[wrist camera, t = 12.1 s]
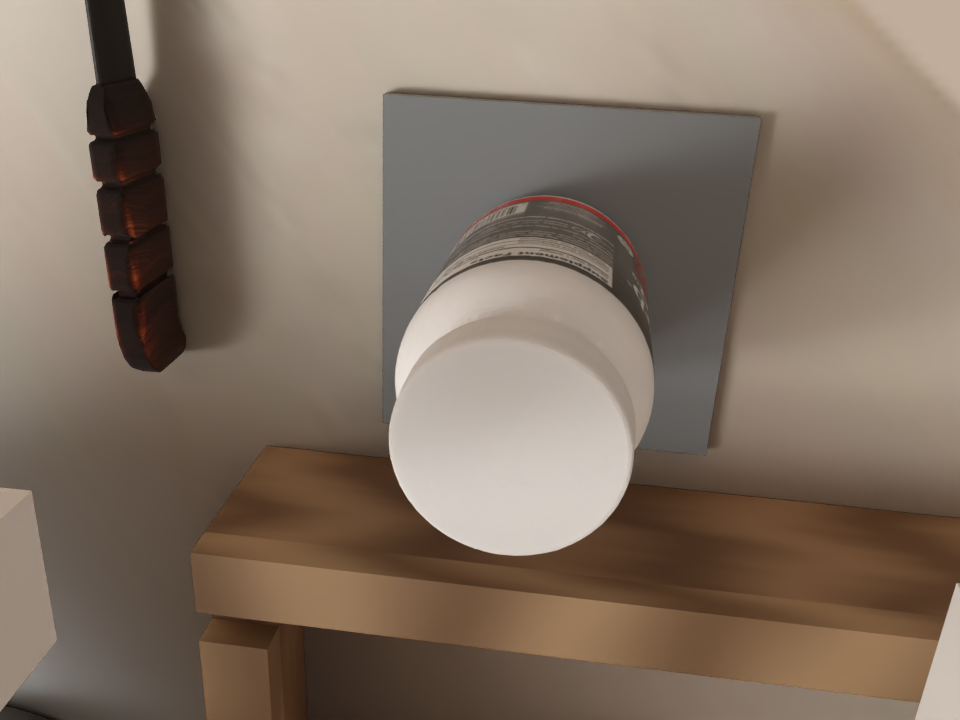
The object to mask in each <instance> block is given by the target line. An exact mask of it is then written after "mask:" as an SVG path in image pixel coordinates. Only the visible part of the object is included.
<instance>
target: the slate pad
mask: <svg viewBox="0 0 960 720" xmlns="http://www.w3.org/2000/svg"><path fill="white" fill-rule="evenodd" d="M760 125H761V118H760V117H759V116H747V115H731V114H716V113H700V112H684V111H668V110H653V109H637V108H621V107H606V106H590V105H574V104H558V103H543V102H527V101H511V100H496V99H480V98H464V97H449V96H433V95H417V94H401V93H385V94H383V423H388V424H390V420H391V415H392V412H393V408H394V405H395V402H396V400H397V399H396V389H395V369H396V362H397V356H398V352H399V348H400V345H401V342H402V339H403V337H404V334H405V332H406V329H407V327H408V325H409V322H410V320H411V319H412V317H413V315H414V313H415V312H416V310H417V308H418V307H419V305H420V304H421V302H422V300H423V299H424V297H425V296H426V294H427V292H428V291H429V289H430V287H431V285H432V284H433V282H434V280H435V279H436V277H437V276H438V274H439V272H440V271H441V269H442V267H443V265H444V264H445V262H446V260H447V259H448V257H449V255H450V254H451V252H452V250H453V249H454V247H455V245H456V243H457V242H458V241H459V239H460V238H461V236H462V235H463V234H464V232H465V231H466V230H467V229H468V228H469V227H470V226H471V225H472V224H473V223H474V222H475V221H477V220H478V219H479V218H480V217H481V216H483V215H484V214H485V213H487V212H488V211H490V210H492V209H493V208H495V207H497V206H499V205H501V204H504V203H506V202H509V201H512V200H515V199H519V198H523V197H529V196H540V195H549V196H559V197H565V198H570V199H573V200H576V201H579V202H582V203H584V204H587V205H589V206H591V207H593V208H595V209H596V210H598V211H600V212H601V213H603V214H604V215H605V216H607V217H608V218H609V219H610V220H612V221H613V222H614V223H615V224H616V225H617V226H618V227H619V228H620V229H621V230H622V231H623V233H624V234H625V235H626V236H627V238H628V239H629V240H630V242H631V244H632V245H633V247H634V249H635V251H636V253H637V255H638V257H639V260H640V262H641V265H642V268H643V272H644V276H645V280H646V287H647V296H648V306H649V319H650V330H651V341H652V351H653V361H654V373H655V389H654V398H653V406H652V411H651V415H650V419H649V422H648V425H647V427H646V430H645V432H644V435H643V437H642V439H641V441H640V443H639V444H638V446H637V448H636V449H646V450H656V451H666V452H676V453H686V454H696V455H706V451H707V445H708V439H709V433H710V427H711V421H712V415H713V409H714V402H715V396H716V390H717V384H718V378H719V372H720V366H721V360H722V354H723V348H724V342H725V336H726V330H727V324H728V318H729V312H730V306H731V300H732V294H733V288H734V282H735V276H736V270H737V264H738V258H739V251H740V245H741V239H742V233H743V227H744V221H745V215H746V209H747V203H748V197H749V191H750V185H751V179H752V173H753V167H754V161H755V155H756V149H757V143H758V137H759V131H760Z"/></svg>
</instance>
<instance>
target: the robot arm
mask: <svg viewBox="0 0 960 720" xmlns="http://www.w3.org/2000/svg"><path fill="white" fill-rule="evenodd" d="M56 641H57V636H56V630H55V624H54V619H53V613H52V607H51V601H50V595H49V589H48V583H47V577H46V572H45V566H44V560H43V554H42V548H41V542H40V536H39V531H38V525H37V519H36V513H35V507H34V501H33V495H32V491H30V490H20V489H10V488H0V720H49V719H46V718H44V717H41V716H38V715H35V714H32V713H29V712H26V711H22V710H19V709H15V708H11V707H6V706H5V705H6V704H7V703H8V701H9V700H10V699H11V698H12V696H13V695H14V694H15V693H16V691H17V690H18V689H19V688H20V686H21V685H22V684H23V683H24V681H25V680H26V679H27V678H28V676H29V675H30V674H31V673H32V671H33V670H34V669H35V668H36V666H37V665H38V664H39V663H40V661H41V660H42V659H43V658H44V656H45V655H46V654H47V653H48V651H49V650H50V649H51V648H52V646H53V645H54V644H55V643H56ZM915 720H960V583H956V586H955V590H954V593H953V596H952V599H951V603H950V606H949V609H948V613H947V616H946V619H945V622H944V626H943V629H942V632H941V636H940V639H939V642H938V645H937V649H936V652H935V655H934V658H933V662H932V665H931V668H930V672H929V675H928V678H927V681H926V685H925V688H924V691H923V695H922V698H921V701H920V704H919V708H918V711H917V714H916V717H915Z"/></svg>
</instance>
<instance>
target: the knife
mask: <svg viewBox="0 0 960 720" xmlns="http://www.w3.org/2000/svg"><path fill="white" fill-rule="evenodd" d="M85 5H86V12H87V19H88V26H89V33H90V40H91V48H92V55H93V62H94V69H95V76H96V85H94V86H92V88H91V90H90V93H89V96H88V100H87V110H86V113H87V132H88V133H89V134H90V135H95V136H96V139H95V141H93V142H91V143H90V144H89V150H90V157H91V164H92V171H93V177H94V179H95V180H96V181H101V182H102V184H103V185H102V187H101V188H100V189H98V191H97V202H98V209H99V216H100V223H101V230H102V234H103V235H104V236H106V235H110V236H111V239H110V241H109V242H108V243H106V245H105V247H104V251H105V258H106V265H107V272H108V279H109V286H110V288H111V290H116V291H118V292H116V293H115V294H113V297H112V306H113V313H114V320H115V327H116V333H117V338H118V341H119V345H120V348H121V351H122V353H123V356H124V358H125V360H126V361H127V362H128V363H129V365H130V366H131V367H132V368H135V369H138V370H142V371H150V372H161V371H163V370H164V369H165V368H166V367H167V366H168V365H169V364H170V363H172V362H173V361H174V360H175V359H176V358H177V357H178V356H179V355H181V354H182V353H183V351H184V349H185V347H186V335H185V333H184V331H183V329H182V326H181V323H180V320H179V317H178V303H177V294H176V286H175V277H174V275H173V274H172V275H170V276H167V271H168V270H169V269H171V268H172V266H173V260H172V251H171V243H170V234H169V227H168V225H166V224H162V223H164V222H166V221H167V208H166V199H165V191H164V182H163V178H162V176H161V174H159V173H156V172H155V169H156V168H157V167H158V166H160V164H161V157H160V148H159V139H158V133H157V131H156V130H155V129H151V128H150V126H151V124H153V123H154V122H155V120H156V119H155V116H154V112H153V108H152V104H151V101H150V99H149V96H148V94H147V92H146V91H145V89H144V87H143V85H142V84H141V82H140V81H139V80H138V79H136V74H135V68H134V61H133V55H132V48H131V42H130V35H129V29H128V22H127V16H126V9H125V2H124V0H85Z"/></svg>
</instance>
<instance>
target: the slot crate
mask: <svg viewBox="0 0 960 720" xmlns="http://www.w3.org/2000/svg"><path fill="white" fill-rule="evenodd" d="M190 560H191V570H192V580H193V590H194V600H195V610H196V613H204V614H212V616H213V618H212V620H211V621H210V623H209V625H208V626H207V628H206V630H205V631H204V633H203V635H202V636H201V638H200V640H199V649H200V659H201V669H202V679H203V689H204V699H205V709H206V719H207V720H307V706H306V682H305V659H304V635H303V626H309V627H317V628H325V629H333V630H341V631H349V632H357V633H365V634H373V635H381V636H389V637H397V638H405V639H413V640H421V641H429V642H437V643H445V644H453V645H461V646H469V647H477V648H485V649H493V650H502V651H510V652H518V653H526V654H534V655H542V656H550V657H558V658H566V659H574V660H582V661H590V662H598V663H606V664H614V665H622V666H630V667H638V668H646V669H654V670H662V671H670V672H678V673H686V674H694V675H702V676H711V677H719V678H727V679H735V680H743V681H751V682H759V683H767V684H775V685H783V686H791V687H799V688H807V689H815V690H823V691H831V692H839V693H847V694H855V695H863V696H871V697H879V698H887V699H895V700H903V701H912V702H920V701H921V698H922V695H923V691H924V688H925V685H926V681H927V678H928V675H929V672H930V668H931V665H932V662H933V658H934V655H935V652H936V649H937V645H938V642H939V639H940V636H941V632H942V629H943V626H944V622H945V619H946V616H947V613H948V609H949V606H950V603H951V599H952V596H953V593H954V590H955V586H956V583H960V518H951V517H942V516H932V515H923V514H913V513H904V512H894V511H884V510H875V509H865V508H856V507H846V506H837V505H827V504H817V503H808V502H798V501H789V500H779V499H770V498H760V497H750V496H741V495H731V494H722V493H712V492H703V491H693V490H684V489H674V488H664V487H655V486H645V485H636V484H628V486H627V489H626V491H625V493H624V495H623V497H622V499H621V501H620V503H619V504H618V506H617V508H616V509H615V510H614V512H613V513H612V514H611V515H610V516H609V517H608V518H607V520H606V521H605V522H604V523H603V524H602V525H601V526H599V527H598V528H597V529H596V530H594V531H593V532H592V533H591V534H589V535H588V536H586V537H584V538H583V539H581V540H579V541H577V542H575V543H574V544H572V545H569V546H567V547H564V548H562V549H559V550H556V551H552V552H547V553H542V554H535V555H524V556H512V555H500V554H494V553H489V552H484V551H481V550H479V549H474V548H472V547H469V546H466V545H464V544H462V543H460V542H458V541H456V540H454V539H452V538H450V537H448V536H447V535H445V534H444V533H442V532H441V531H439V530H438V529H437V528H435V527H434V526H433V525H431V524H430V523H429V522H428V521H427V520H426V519H425V518H424V517H423V516H422V515H421V514H420V513H419V512H418V511H417V510H416V509H415V508H414V506H413V505H412V503H411V502H410V501H409V500H408V498H407V497H406V495H405V494H404V492H403V490H402V488H401V487H400V485H399V482H398V480H397V477H396V475H395V472H394V469H393V466H392V462H391V459H387V458H377V457H368V456H358V455H349V454H339V453H330V452H320V451H310V450H301V449H291V448H282V447H272V446H266V447H265V448H264V450H263V451H262V452H261V454H260V455H259V457H258V458H257V459H256V461H255V462H254V464H253V465H252V466H251V468H250V469H249V471H248V472H247V473H246V475H245V476H244V478H243V479H242V480H241V482H240V483H239V485H238V486H237V487H236V489H235V490H234V492H233V493H232V494H231V496H230V497H229V499H228V500H227V501H226V503H225V504H224V506H223V507H222V508H221V510H220V511H219V513H218V514H217V515H216V517H215V518H214V520H213V521H212V522H211V524H210V525H209V527H208V528H207V529H206V531H205V532H204V534H203V535H202V536H201V538H200V539H199V541H198V542H197V543H196V545H195V546H194V547H193V549H192V550H191V552H190Z"/></svg>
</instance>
